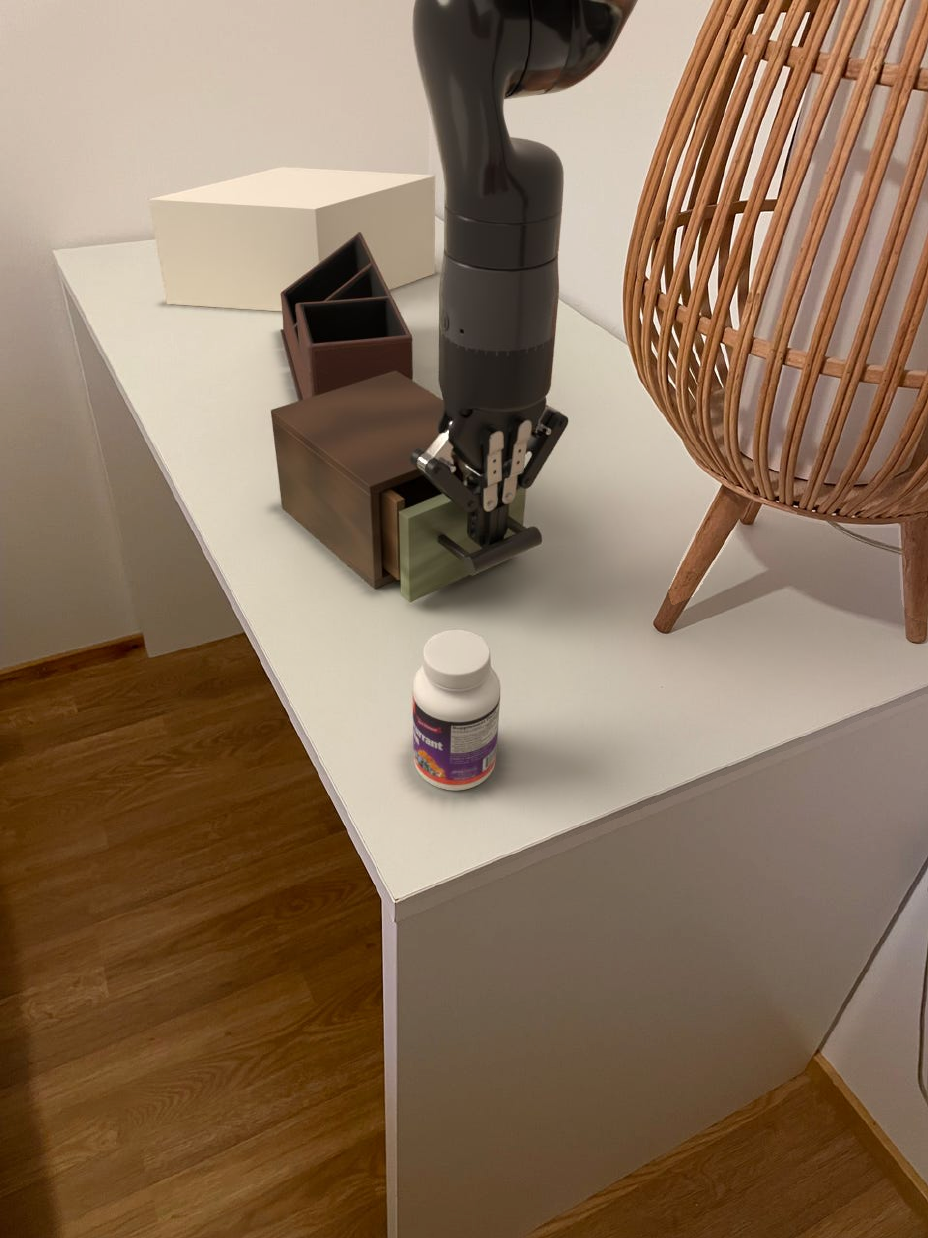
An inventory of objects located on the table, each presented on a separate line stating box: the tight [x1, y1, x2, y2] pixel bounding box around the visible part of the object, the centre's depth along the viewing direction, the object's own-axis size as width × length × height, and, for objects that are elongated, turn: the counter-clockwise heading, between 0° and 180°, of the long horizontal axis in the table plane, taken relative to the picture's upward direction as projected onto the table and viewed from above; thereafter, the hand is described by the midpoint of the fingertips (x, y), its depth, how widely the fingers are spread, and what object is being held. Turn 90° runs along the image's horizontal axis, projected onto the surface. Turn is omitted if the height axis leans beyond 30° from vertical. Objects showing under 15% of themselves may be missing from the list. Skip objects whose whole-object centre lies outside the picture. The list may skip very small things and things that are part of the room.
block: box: [148, 166, 436, 312], centre depth 121 cm, size 18×35×12 cm, turn 110°
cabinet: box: [270, 371, 458, 590], centre depth 82 cm, size 15×13×10 cm
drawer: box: [378, 462, 543, 603], centre depth 78 cm, size 18×11×8 cm, turn 38°
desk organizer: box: [279, 232, 414, 402], centre depth 101 cm, size 10×29×11 cm, turn 14°
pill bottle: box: [411, 629, 501, 791], centre depth 61 cm, size 5×5×10 cm
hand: (487, 542), depth 73 cm, fingers closed
